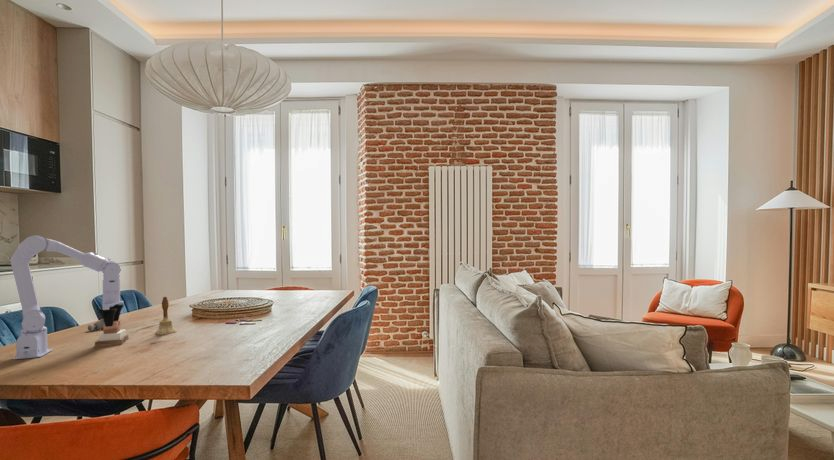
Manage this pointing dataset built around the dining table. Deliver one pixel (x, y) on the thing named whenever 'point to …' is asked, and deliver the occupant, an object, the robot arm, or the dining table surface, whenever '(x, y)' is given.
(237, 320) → the dining table surface
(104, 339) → the white flat square slab
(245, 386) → the dining table surface
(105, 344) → the tower base
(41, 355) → the robot arm
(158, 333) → the hand bell
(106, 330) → the block
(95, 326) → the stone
